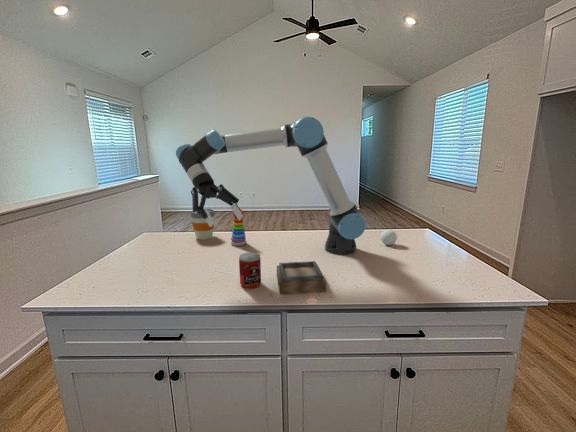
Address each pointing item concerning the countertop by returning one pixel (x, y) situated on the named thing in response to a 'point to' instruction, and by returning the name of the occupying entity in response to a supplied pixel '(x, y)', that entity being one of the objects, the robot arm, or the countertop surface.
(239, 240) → the stacking toy
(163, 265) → the countertop surface
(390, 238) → the ball
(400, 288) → the countertop surface
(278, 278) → the square wooden tray
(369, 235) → the countertop surface
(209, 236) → the reusable coffee cup
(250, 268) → the canned food
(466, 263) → the countertop surface
